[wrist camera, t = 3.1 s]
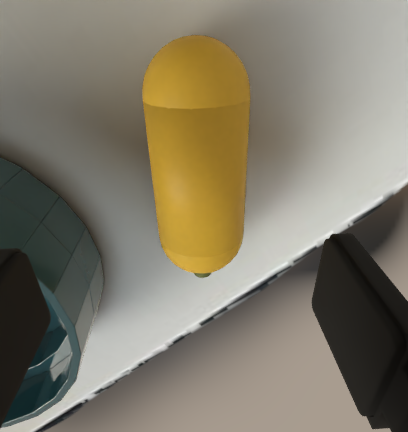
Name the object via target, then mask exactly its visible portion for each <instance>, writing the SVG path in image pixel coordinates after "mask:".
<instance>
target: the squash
mask: <svg viewBox="0 0 408 432" xmlns="http://www.w3.org/2000/svg"><path fill="white" fill-rule="evenodd" d="M142 94H143V107H144V115H145V123H146V131H147V140H148V148H149V156H150V164H151V173H152V181H153V189H154V197H155V205H156V214H157V222H158V230H159V238H160V242H161V246H162V248H163V250H164V252H165V253H166V255H167V257H168V258H169V259H170V260H171V261H172V262H173V263H174V264H175V265H177V266H178V267H180V268H182V269H183V270H186V271H188V272H192V273H194V274H195V275H196V276H197V277H201V278H204V277H208V276H209V275H210V274H211V273H212V272H214V271H217V270H219V269H221V268H223V267H224V266H226V265H227V264H228V263H230V262H231V260H232V259H233V258H234V257H235V256H236V254H237V253H238V250H239V248H240V246H241V244H242V239H243V232H244V212H245V193H246V173H247V153H248V134H249V114H250V83H249V79H248V75H247V72H246V70H245V68H244V65H243V63H242V62H241V60H240V59H239V57H238V56H237V55H236V53H235V52H234V51H232V50H231V49H230V48H229V47H228V46H227V45H225V44H224V43H222V42H220V41H219V40H217V39H214V38H211V37H208V36H201V35H190V36H183V37H181V38H178V39H175V40H173V41H171V42H170V43H168V44H167V45H165V46H164V47H162V48H161V49H160V51H159V52H158V53H157V54H156V55H155V56H154V57H153V59H152V61H151V62H150V64H149V65H148V68H147V71H146V73H145V76H144V81H143V87H142Z"/></svg>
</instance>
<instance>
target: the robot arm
mask: <svg viewBox="0 0 408 432" xmlns="http://www.w3.org/2000/svg"><path fill="white" fill-rule="evenodd" d="M312 308H313V311H314V313H315V316H316V318H317V320H318V322H319V325H320V327H321V329H322V331H323V333H324V336H325V338H326V340H327V342H328V344H329V347H330V349H331V351H332V353H333V355H334V358H335V360H336V362H337V364H338V367H339V369H340V371H341V373H342V376H343V378H344V380H345V382H346V384H347V387H348V389H349V391H350V393H351V396H352V398H353V400H354V402H355V405H356V407H357V409H358V411H359V413H360V414H361V415H362V416H367V418H368V421H369V423H370V425H371V427H372V429H380V428H390V429H391V431H392V432H408V301H407V300H406V299H405V298H404V296H403V295H402V294H401V293H400V292H399V290H398V289H397V288H396V287H395V285H394V284H393V283H392V282H391V281H390V279H389V278H388V277H387V276H386V274H385V273H384V272H383V271H382V269H381V268H380V267H379V266H378V265H377V263H376V262H375V261H374V260H373V258H372V257H371V256H370V255H369V253H368V252H367V251H366V250H365V249H364V247H363V246H362V245H361V244H360V242H359V241H358V240H357V239H356V238H355V236H354V235H353V234H351V233H346V234H332V235H331V236H330V238H329V239H326V240H325V242H324V246H323V251H322V255H321V260H320V264H319V269H318V274H317V279H316V283H315V288H314V292H313V297H312ZM50 321H51V314H50V311H49V308H48V306H47V303H46V301H45V298H44V295H43V293H42V290H41V288H40V285H39V283H38V280H37V278H36V275H35V273H34V270H33V268H32V265H31V263H30V260H29V257H28V255H27V254H26V253H22V251H21V250H20V249H18V248H10V249H0V428H1V426H2V423H3V421H4V419H5V417H6V415H7V413H8V411H9V409H10V407H11V404H12V402H13V400H14V398H15V396H16V394H17V392H18V390H19V388H20V386H21V383H22V381H23V379H24V377H25V375H26V373H27V371H28V369H29V367H30V364H31V362H32V360H33V358H34V356H35V354H36V352H37V350H38V348H39V346H40V343H41V341H42V339H43V337H44V335H45V333H46V331H47V329H48V327H49V324H50Z"/></svg>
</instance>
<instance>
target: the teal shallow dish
mask: <svg viewBox="0 0 408 432" xmlns="http://www.w3.org/2000/svg"><path fill="white" fill-rule="evenodd" d="M10 248H18V249H20V250H21V251H22V253H26V254H27V255H28V257H29V260H30V263H31V265H32V268H33V270H34V273H35V275H36V278H37V280H38V283H39V285H40V288H41V290H42V293H43V295H44V298H45V301H46V303H47V306H48V308H49V311H50V314H51V321H50V324H49V327H48V329H47V331H46V333H45V335H44V337H43V339H42V341H41V343H40V346H39V348H38V350H37V352H36V354H35V356H34V358H33V360H32V362H31V364H30V367H29V369H28V371H27V373H26V375H25V377H24V379H23V381H22V383H21V386H20V388H19V390H18V392H17V394H16V396H15V398H14V400H13V402H12V404H11V407H10V409H9V411H8V413H7V415H6V417H5V419H4V421H3V423H2V426H1V428H2V427H8V426H11V425H14V424H17V423H19V422H22V421H25V420H28V419H30V418H33V417H36V416H38V415H40V414H41V413H43V412H44V411H46V410H47V409H49V408H50V407H52V406H53V405H55V404H56V403H58V402H59V401H61V400H62V398H63V397H64V396H65V394H66V393H67V392H68V390H69V389H70V388H71V386H72V385H73V384H74V382H75V381H76V379H77V376H78V373H79V369H80V366H81V363H82V359H83V356H84V353H85V350H86V346H87V343H88V340H89V336H90V333H91V330H92V326H93V323H94V320H95V316H96V313H97V310H98V307H99V303H100V298H101V294H102V289H103V285H104V279H103V272H102V265H101V258H100V254H99V252H98V250H97V248H96V246H95V244H94V242H93V240H92V238H91V236H90V234H89V232H88V229H87V227H86V226H85V225H84V223H83V222H82V221H81V220H80V219H79V218H78V216H77V215H76V214H75V213H74V212H73V211H72V209H71V208H70V207H69V206H68V205H67V204H66V202H65V201H64V200H63V199H62V198H61V197H59V195H58V194H56V193H55V192H54V191H52V190H51V189H50V188H48V187H47V186H46V185H44V184H43V183H42V182H40V181H39V180H38V179H36V178H35V177H34V176H33V175H31V174H30V173H29V172H27V171H26V170H25V169H22V167H20V166H17V165H15V164H13V163H11V162H9V161H7V160H5V159H3V158H1V157H0V249H10Z"/></svg>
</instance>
